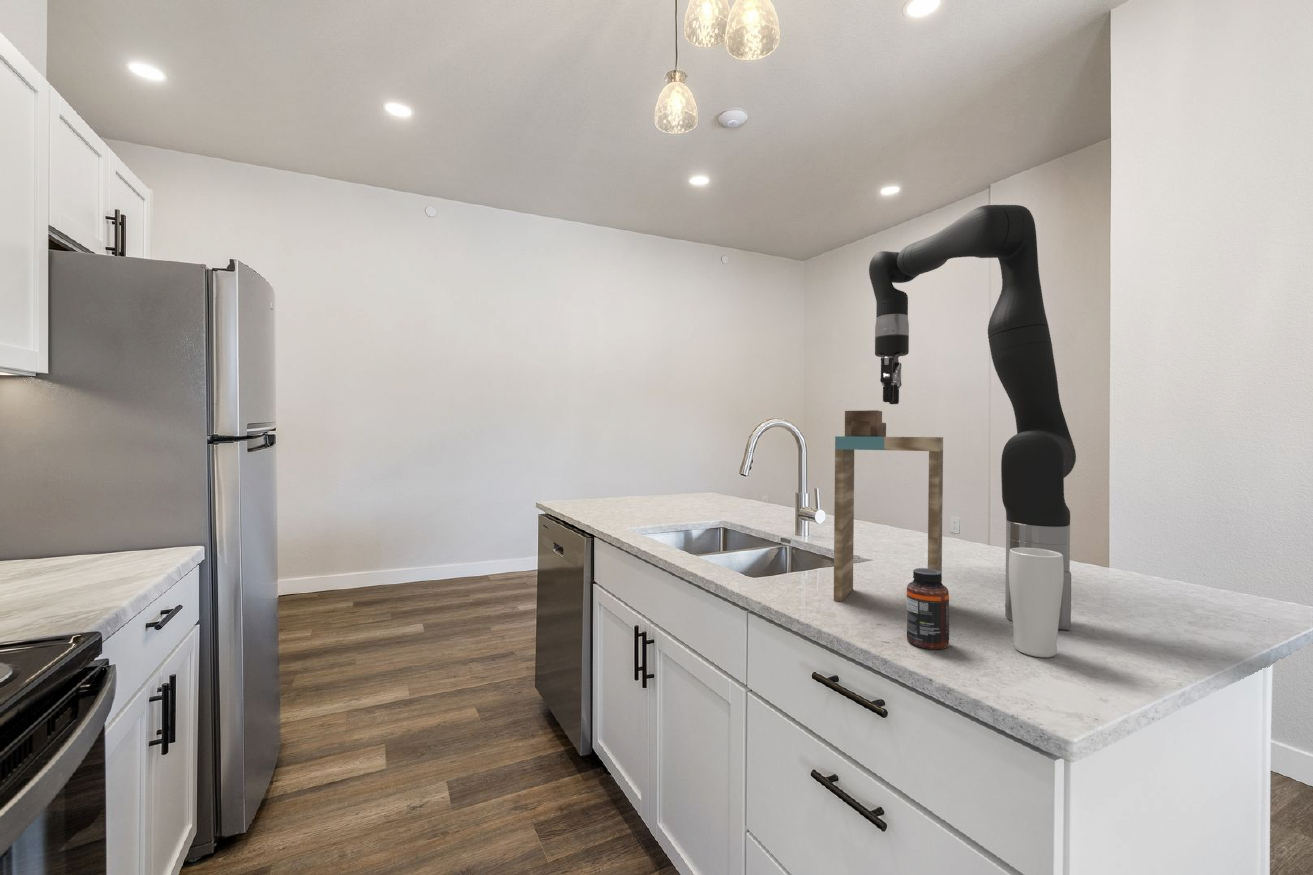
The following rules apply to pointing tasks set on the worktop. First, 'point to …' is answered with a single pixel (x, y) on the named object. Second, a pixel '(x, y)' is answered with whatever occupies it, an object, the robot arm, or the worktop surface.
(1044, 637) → the white tall cup
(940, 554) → the oak stand
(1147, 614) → the worktop surface
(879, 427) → the brown wooden block
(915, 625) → the supplement bottle
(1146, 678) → the worktop surface
